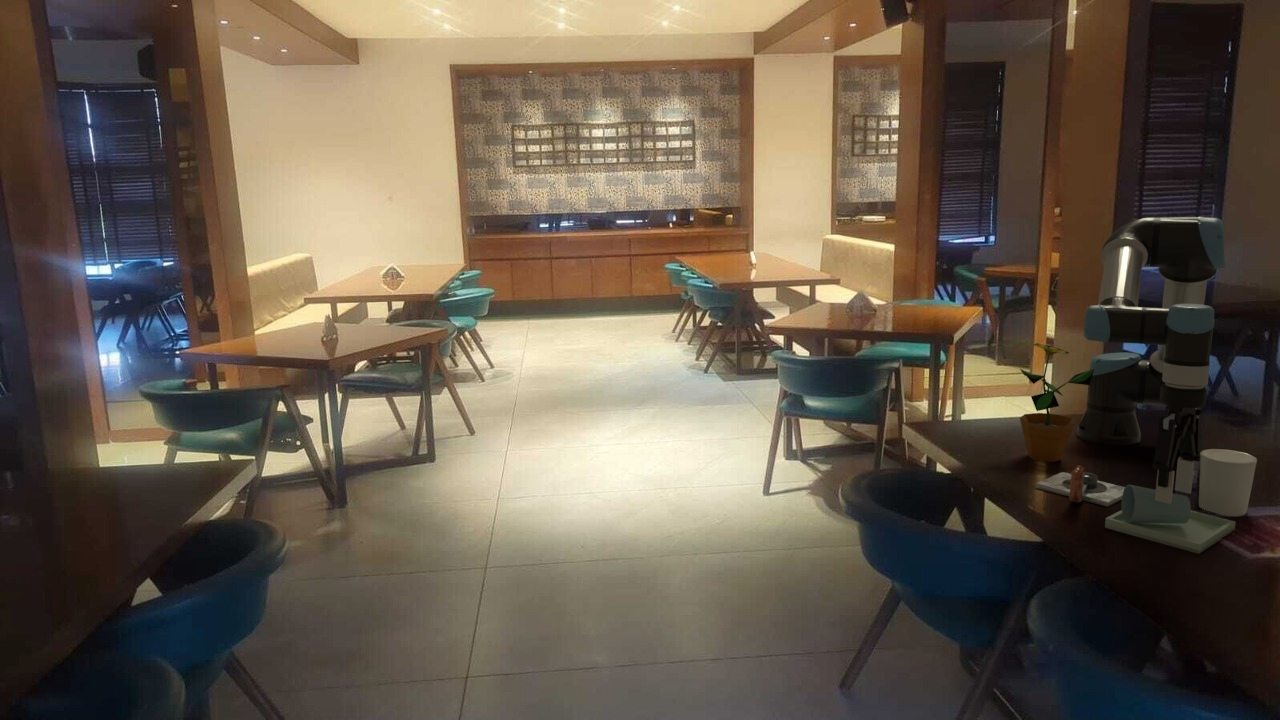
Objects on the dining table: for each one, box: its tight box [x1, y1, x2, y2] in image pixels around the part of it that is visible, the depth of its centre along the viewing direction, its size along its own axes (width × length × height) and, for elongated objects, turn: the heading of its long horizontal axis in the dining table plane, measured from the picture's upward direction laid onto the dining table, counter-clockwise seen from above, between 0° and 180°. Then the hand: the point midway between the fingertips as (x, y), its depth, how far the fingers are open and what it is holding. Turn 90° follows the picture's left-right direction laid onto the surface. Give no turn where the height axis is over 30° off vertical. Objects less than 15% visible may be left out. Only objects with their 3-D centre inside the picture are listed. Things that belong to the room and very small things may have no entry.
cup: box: [1121, 484, 1192, 523], centre depth 171 cm, size 8×8×10 cm
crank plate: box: [1035, 471, 1126, 507], centre depth 194 cm, size 12×16×1 cm
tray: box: [1104, 509, 1236, 555], centre depth 171 cm, size 17×17×2 cm
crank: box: [1068, 464, 1099, 503], centre depth 188 cm, size 16×5×7 cm, turn 144°
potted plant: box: [1019, 343, 1094, 463], centre depth 215 cm, size 18×19×30 cm
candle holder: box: [1198, 448, 1258, 517], centre depth 180 cm, size 10×10×12 cm
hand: (1173, 496), depth 169 cm, fingers open, 8 cm apart
